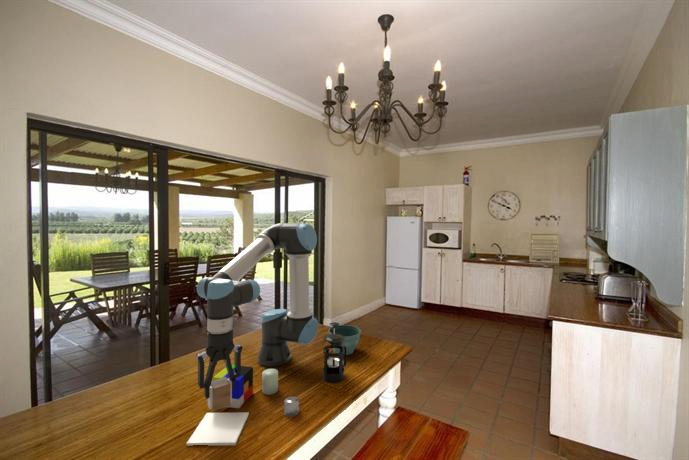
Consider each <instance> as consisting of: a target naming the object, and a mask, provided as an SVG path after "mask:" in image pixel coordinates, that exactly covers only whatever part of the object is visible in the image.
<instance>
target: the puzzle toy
mask: <svg viewBox="0 0 689 460" xmlns="http://www.w3.org/2000/svg"><path fill="white" fill-rule="evenodd" d="M232 368H233V372H234V373H235V364H232ZM224 377H226V378H227V379H228V378H229V375H228V372H227V368H226V366H225V367H224V368H223V369H222V370H220V371H219V372H218V373H216V375H213V378H212V381H213V380H217V379H220V378H224ZM252 394H254V367H253V366H247V365H241V376H240V377H237V378H236V381H235V388H234V390H232V402H231V405H230V406H228V407H227V408H234V409H240V408H241V407H242V405H243V404H244V403H246V401H247V400H248V399H249V398H250V396H252Z"/></svg>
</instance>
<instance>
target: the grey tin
mask: <svg viewBox="0 0 689 460" xmlns="http://www.w3.org/2000/svg"><path fill="white" fill-rule="evenodd" d="M283 404H284V405H283V413H284V416H285V417H291V418H292V417H295V416H297V415H298V414H299V413H300V399H299V398H298V397H296V396H288V397H286V398H285V399H284V401H283Z"/></svg>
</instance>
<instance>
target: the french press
mask: <svg viewBox="0 0 689 460" xmlns="http://www.w3.org/2000/svg"><path fill="white" fill-rule="evenodd" d="M338 325H340V323H339V322H334V321H332V322H330V323H329V326H331V327H333V328H334V334H329V333H328V334H326V335H324V336H323V338H322V339H323V341H324V343H325V342H328V344H329V345H326V346H324V347H323V348H322V350H323V356H324V360H323V368H322V377H321V378H322V380H323V381H324V382H327V383H331V384H338V383H340V382H343V381H344V380H345V377H346V375H345V367H347V355H346V346H344V345H343V343H344V339H345V337H344V336H343V335H340V334H335V326H338ZM341 345H342V346H341ZM334 348H339V349H340V353H336V352H335V349H334ZM330 349H333V353H331V352H330ZM332 373H335V374H332Z"/></svg>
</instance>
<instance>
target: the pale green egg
mask: <svg viewBox="0 0 689 460" xmlns="http://www.w3.org/2000/svg"><path fill="white" fill-rule="evenodd" d="M261 387H262V388H261V392H262V394H264V395H270V396H271V395H273V394H275V393H278V391H279V370H278V369H276V368H267V369H264V370H263V371H262V373H261Z"/></svg>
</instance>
